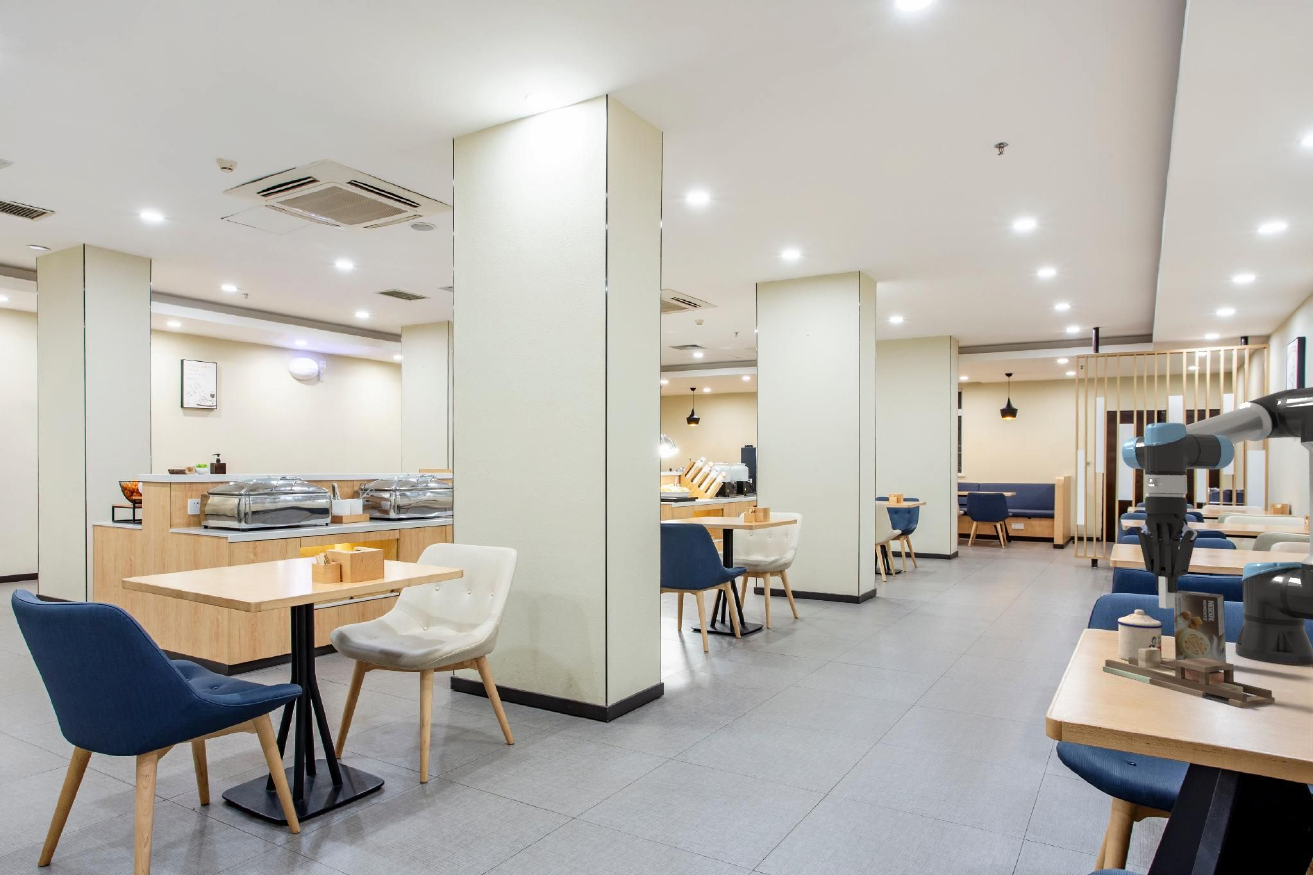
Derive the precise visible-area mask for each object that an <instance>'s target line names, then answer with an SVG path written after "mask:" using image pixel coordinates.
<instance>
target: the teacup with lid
mask: <svg viewBox="0 0 1313 875" xmlns="http://www.w3.org/2000/svg"><path fill="white" fill-rule="evenodd" d="M1117 624H1118V657H1119V658H1120V659H1121V660H1123V661H1126V660H1127V662H1129V658H1130V657H1133V658H1138V649H1143V648H1157V649H1160V663H1162V661H1163V659H1162V650H1163V649H1162V628H1163V624H1162V622H1161V621H1159V620H1156V619H1154V618H1152V617H1151V616H1149V615H1147V614H1145V611H1144V610H1143V609H1135V610H1134V613H1131V614H1128V615H1127V616H1123V617H1119V618H1118V619H1117Z"/></svg>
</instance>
